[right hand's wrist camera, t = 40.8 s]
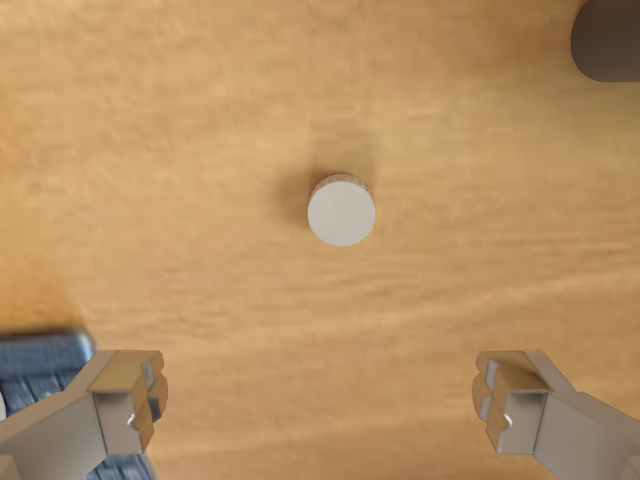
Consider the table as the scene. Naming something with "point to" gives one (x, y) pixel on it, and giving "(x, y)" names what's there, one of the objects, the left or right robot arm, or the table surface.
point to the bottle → (608, 40)
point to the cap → (341, 210)
